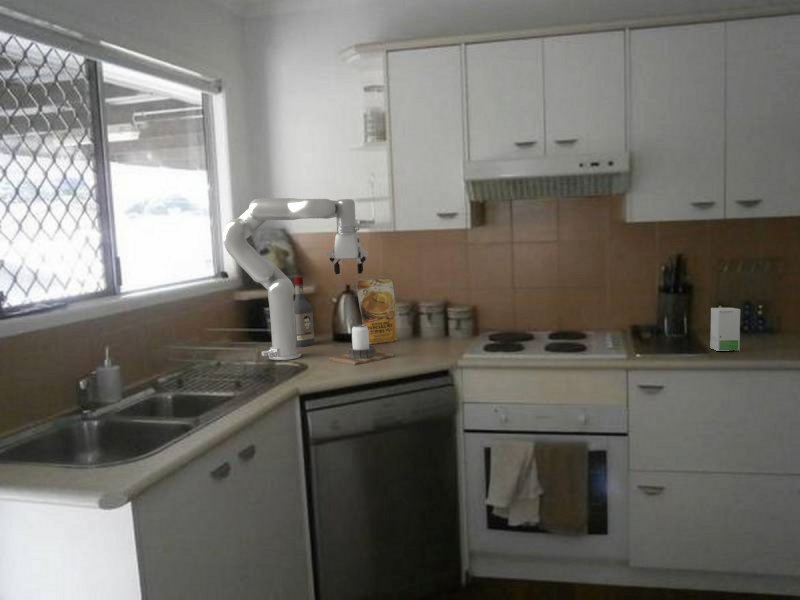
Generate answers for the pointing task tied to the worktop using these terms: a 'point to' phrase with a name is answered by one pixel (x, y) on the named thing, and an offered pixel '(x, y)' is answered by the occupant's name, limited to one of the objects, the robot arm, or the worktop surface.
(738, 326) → the skincare box
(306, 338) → the liquor
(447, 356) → the worktop surface
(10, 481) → the worktop surface
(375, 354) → the socket
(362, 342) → the can
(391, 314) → the pancake mix bag
